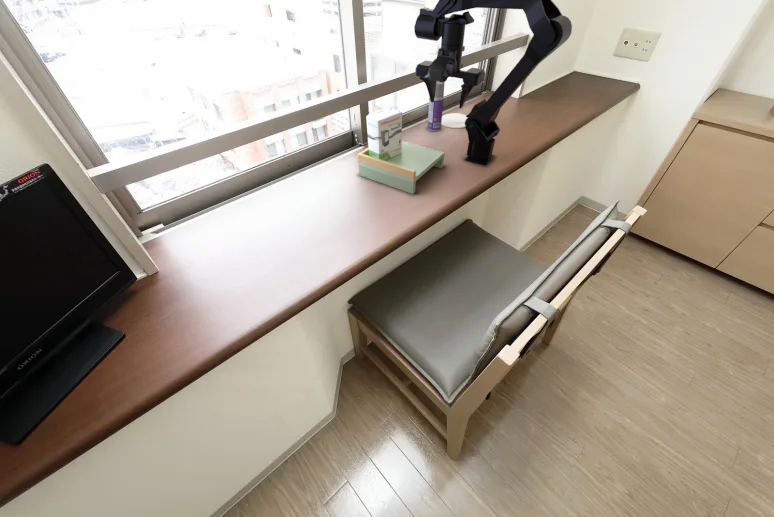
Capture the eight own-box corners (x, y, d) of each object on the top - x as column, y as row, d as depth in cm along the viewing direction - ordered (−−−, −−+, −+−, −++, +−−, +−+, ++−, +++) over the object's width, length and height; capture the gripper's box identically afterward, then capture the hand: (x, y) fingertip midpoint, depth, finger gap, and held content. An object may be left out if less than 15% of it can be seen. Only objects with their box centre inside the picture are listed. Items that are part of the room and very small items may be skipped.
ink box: (379, 163, 92) (377, 120, 84) (368, 157, 95) (365, 115, 87) (402, 153, 96) (402, 111, 88) (390, 147, 99) (390, 106, 91)
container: (442, 126, 119) (446, 80, 109) (439, 132, 116) (443, 85, 106) (429, 124, 120) (432, 79, 110) (425, 130, 117) (428, 83, 107)
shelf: (443, 166, 99) (445, 145, 95) (413, 194, 89) (413, 172, 85) (392, 151, 107) (391, 131, 102) (359, 175, 97) (357, 154, 92)
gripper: (405, 45, 87) (404, 107, 98) (472, 54, 80) (463, 121, 90) (426, 36, 94) (423, 96, 105) (490, 44, 86) (480, 107, 97)
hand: (446, 105), depth 99 cm, fingers open, 9 cm apart
